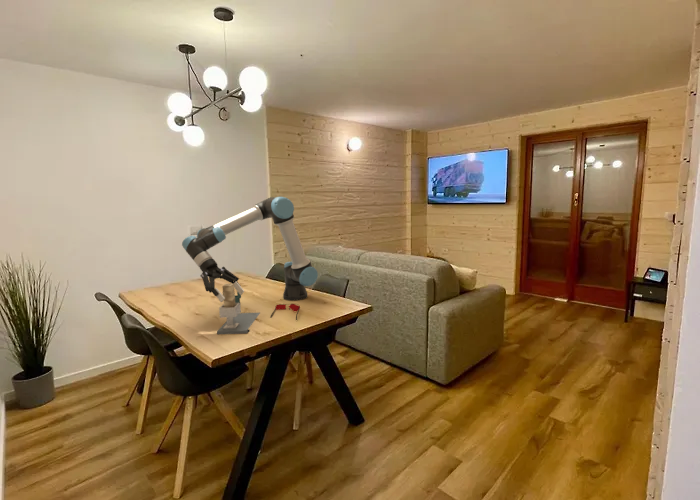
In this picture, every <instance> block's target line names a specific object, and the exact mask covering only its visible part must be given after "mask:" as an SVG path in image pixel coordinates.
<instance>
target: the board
mask: <svg viewBox="0 0 700 500" xmlns="http://www.w3.org/2000/svg"><path fill="white" fill-rule="evenodd" d="M260 314H261V312H240V313H239V314H238V316H237V317H235V323H240V324H239V326H238V327H237V328H236V329H223V327H224V326H225V325H226V324H227V320H226V321H225V322H224V323H223V324H222V326H221V327H219V328H218V330H216V335H237V334H249V332H250V331H251V329H249V328H250V327H252V325H253V323H254V322H255V321H256V320H257V318H258V317H259V315H260Z"/></svg>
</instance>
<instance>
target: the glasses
mask: <svg viewBox="0 0 700 500" xmlns="http://www.w3.org/2000/svg"><path fill="white" fill-rule="evenodd" d="M287 305H288V303H286V304H285V303H283V304H282V303H280V304H276V306H275V309H274V310H273V312H272V313H271V315H270V318H272V317H273V315H274V313H275V311H279V310H280V311H281V310H286V309H287ZM288 310H289V311H290V310H291V311H293V312H294V311H296V314H295V315H296V316H295V321H296V320H297V321H298V314H299V311H300V310H301V306H300V305H299V304H298V303H290V304H289V305H288Z"/></svg>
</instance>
